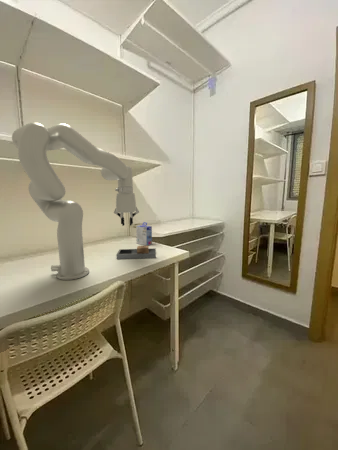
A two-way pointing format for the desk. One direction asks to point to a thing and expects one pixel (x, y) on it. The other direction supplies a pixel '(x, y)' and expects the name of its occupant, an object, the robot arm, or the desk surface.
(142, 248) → the walnut block
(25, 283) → the desk surface
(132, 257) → the dark grey tray
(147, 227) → the ink cartridge box
